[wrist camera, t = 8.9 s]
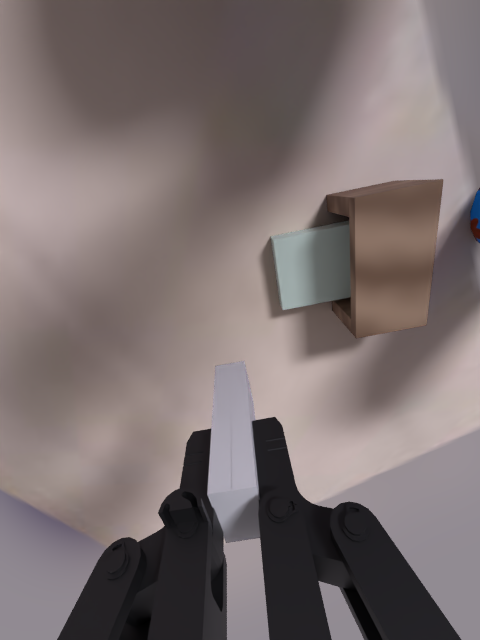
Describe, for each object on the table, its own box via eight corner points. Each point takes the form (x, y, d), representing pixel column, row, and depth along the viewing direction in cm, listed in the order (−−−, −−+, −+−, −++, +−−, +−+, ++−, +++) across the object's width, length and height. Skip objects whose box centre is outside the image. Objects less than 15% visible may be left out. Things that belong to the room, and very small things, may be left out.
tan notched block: (326, 194, 29) (354, 197, 22) (395, 180, 28) (443, 179, 22) (332, 310, 34) (356, 338, 28) (389, 299, 34) (426, 325, 28)
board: (269, 235, 31) (273, 239, 28) (370, 215, 30) (381, 217, 28) (279, 301, 34) (282, 310, 32) (369, 284, 34) (379, 291, 31)
